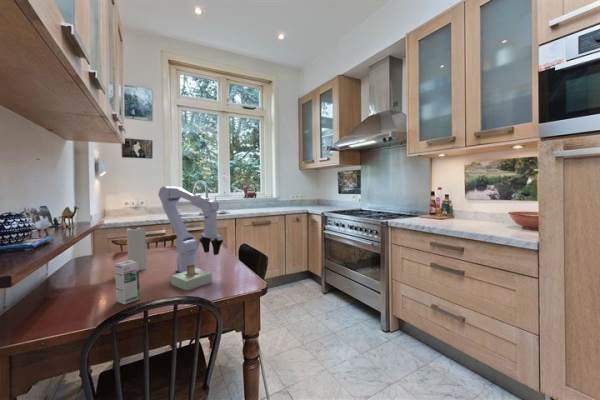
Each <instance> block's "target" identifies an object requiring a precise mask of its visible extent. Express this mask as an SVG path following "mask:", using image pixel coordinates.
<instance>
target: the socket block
mask: <svg viewBox="0 0 600 400" xmlns="http://www.w3.org/2000/svg"><path fill="white" fill-rule="evenodd" d="M197 268H198V267H196V269H195V275H194V276H190V277H189V276H187V271H185V272H178V273H174V274H171V275H170V278H171V285H172V286H174V287H176V288H179V289H180V290H181V289H182V290H184V291H186V290H187V291H190V290H192V289H196V288H198V287H201V286H205V285H207V284H211V283H213V275H212V274H213V273H212V272H209V271H206V270H202V269H200V268H199V269H197Z"/></svg>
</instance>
